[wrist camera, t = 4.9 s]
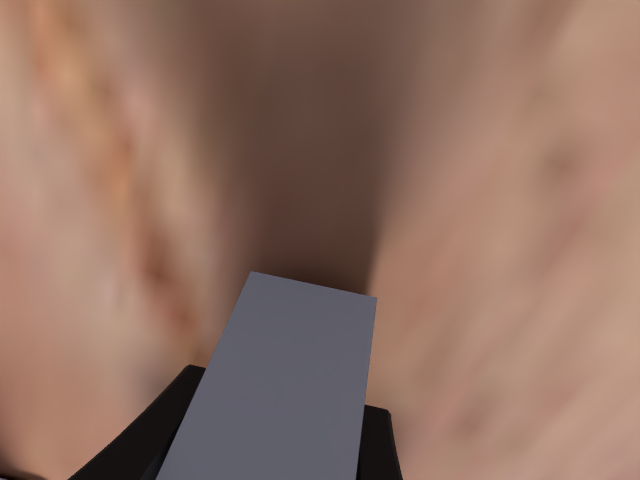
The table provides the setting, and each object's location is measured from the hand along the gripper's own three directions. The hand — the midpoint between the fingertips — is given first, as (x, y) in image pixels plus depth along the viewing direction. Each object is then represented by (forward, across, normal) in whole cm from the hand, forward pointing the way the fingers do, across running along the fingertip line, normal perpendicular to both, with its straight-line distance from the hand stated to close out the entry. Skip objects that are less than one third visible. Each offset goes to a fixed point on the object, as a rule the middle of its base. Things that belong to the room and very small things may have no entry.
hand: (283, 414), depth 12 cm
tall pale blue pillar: (+3, 0, +4) cm, 5 cm away
